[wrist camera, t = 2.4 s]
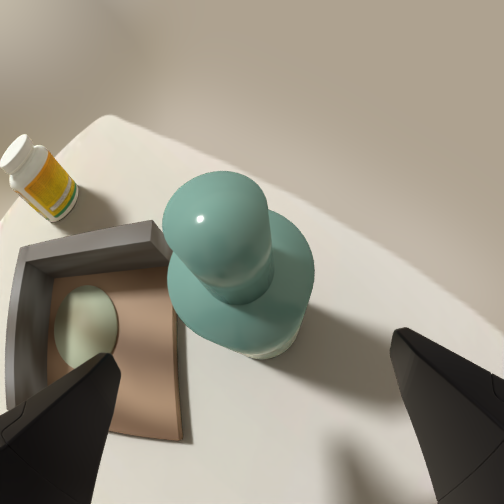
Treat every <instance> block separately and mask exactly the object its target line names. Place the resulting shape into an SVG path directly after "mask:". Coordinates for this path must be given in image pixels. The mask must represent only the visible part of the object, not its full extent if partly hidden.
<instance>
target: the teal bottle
mask: <svg viewBox="0 0 504 504" xmlns="http://www.w3.org/2000/svg"><path fill="white" fill-rule="evenodd" d="M162 228H163V234H164V237H165V240H166V242H167V244H168V245H169V247H170V248H171V249H172V250H173V253H172V256H171V259H170V262H169V267H168V275H167V284H168V292H169V296H170V299H171V303H172V305H173V307H174V309H175V311H176V313H177V314H178V316H179V317H180V319H181V320H182V321H183V322H184V323H185V324H186V326H187V327H189V328H190V329H191V330H192V331H193V332H195V333H196V334H198V335H199V336H201V337H203V338H205V339H207V340H209V341H212V342H214V343H216V344H218V345H221V346H223V347H225V348H228V349H230V350H233V351H235V352H237V353H240V354H242V355H245V356H247V357H250V358H254V359H270V358H273V357H276V356H278V355H280V354H282V353H284V352H285V351H286V350H287V349H288V348H289V347H290V346H291V345H292V344H293V342H294V341H295V339H296V337H297V334H298V331H299V329H300V326H301V323H302V320H303V317H304V314H305V311H306V308H307V305H308V302H309V298H310V295H311V292H312V289H313V283H314V272H315V269H314V260H313V256H312V252H311V250H310V247H309V245H308V243H307V241H306V239H305V237H304V236H303V234H302V233H301V232H300V231H299V229H298V228H297V227H296V226H295V225H294V224H293V223H292V222H290V221H289V220H288V219H286V218H285V217H283V216H282V215H280V214H278V213H276V212H274V211H271V210H269V209H268V205H267V200H266V197H265V195H264V193H263V191H262V189H261V188H260V187H259V186H258V185H257V184H256V183H255V182H254V181H253V180H251V179H250V178H248V177H246V176H244V175H242V174H239V173H235V172H229V171H216V172H210V173H206V174H203V175H200V176H197V177H195V178H193V179H191V180H190V181H188V182H187V183H185V184H184V185H183V186H181V187H180V188H179V189H178V190H177V191H176V192H175V193H174V195H173V196H172V197H171V199H170V200H169V202H168V204H167V206H166V208H165V211H164V214H163V220H162Z"/></svg>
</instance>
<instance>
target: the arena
mask: <svg viewBox="0 0 504 504" xmlns="http://www.w3.org/2000/svg"><path fill="white" fill-rule="evenodd" d="M172 253H173V250H172V249H171V248H170V247H169V245H168V244H167V242H166V240H165V237H164V234H163V233H162V231H161V230H160V229H159V228H158V226H157V225H156V224H155V223H154V221H153V220H148V221H143V222H137V223H132V224H126V225H121V226H116V227H110V228H105V229H100V230H95V231H90V232H86V233H81V234H76V235H71V236H67V237H62V238H58V239H53V240H49V241H45V242H41V243H36V244H32V245H28V246H24V247H20V251H19V255H18V259H17V264H16V268H15V273H14V278H13V284H12V290H11V296H10V303H9V311H8V320H7V331H6V347H5V390H6V405H7V410H11V409H13V408H14V407H16V406H17V405H19V404H21V403H22V402H24V401H25V400H27V399H28V398H30V397H32V396H33V395H35V394H36V393H38V392H39V391H41V390H42V389H44V388H46V387H47V386H49V385H50V384H52V383H53V382H55V381H56V380H58V379H60V378H61V377H63V376H64V375H66V374H67V373H69V372H70V371H72V370H73V369H75V368H77V367H78V366H80V365H81V364H83V363H84V362H86V361H87V360H89V359H90V358H92V357H94V356H95V355H97V354H98V353H100V352H105V353H111V354H112V355H113V357H114V359H115V361H116V363H117V365H118V367H119V368H120V371H121V380H120V385H119V390H118V395H117V400H116V405H115V410H114V414H113V418H112V421H111V425H110V428H109V431H113V432H119V433H124V434H130V435H136V436H142V437H150V438H157V439H166V440H177V441H179V440H181V439H183V434H182V423H181V411H180V398H179V382H178V361H177V318H176V311H175V309H174V307H173V305H172V303H171V299H170V296H169V292H168V284H167V275H168V267H169V262H170V259H171V256H172Z"/></svg>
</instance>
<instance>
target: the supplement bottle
mask: <svg viewBox="0 0 504 504" xmlns="http://www.w3.org/2000/svg"><path fill="white" fill-rule="evenodd" d="M0 167H1V168H2V169H3V171H4V172H5V173H6V174H8V175H10V186H11V188H12V189H13V190H14V191H15V192H16V193H17V194H18V195H19V196H20V197H21V198H22V199H24V200H25V201H26V202H27V203H28V204H29V205H30V206H31V207H32V208H34V209H35V210H36V211H37V212H38V213H39V214H40V215H42V216H43V217H44V218H45V219H46V220H48V221H50V222H56V221H59V220H60V219H62V218H63V217H65V216H66V215H67V214H68V213H69V212H70V210H71V209H72V208H73V206H74V205H75V203H76V200H77V197H78V186H77V184H76V183H75V182H74V180H73V179H72V178H71V177H70V176H69V175H68V174H67V172H66V171H65V170H64V169H63V168H62V167H61V165H60V164H59V163H58V162H57V161H56V160H55V158H54V157H53V156H52V155H51V153H50V152H49V151H48V150H47V149H46V148H45V147H44V146H42V145H36V146H34V145H33V142H32V140H31V139H30V138H29V137H28V136H27V135H26V134H23V135H21V136H20V137H18V138H17V139H16V140H15V141H14V142H13V143H12V144H11V145H10V146H9V147H8V149H7V150H6V151H5V153H4V155H3V157H2V159H1V161H0Z"/></svg>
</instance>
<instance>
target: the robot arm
mask: <svg viewBox="0 0 504 504" xmlns="http://www.w3.org/2000/svg"><path fill="white" fill-rule="evenodd" d="M390 357H391V361H392V364H393V367H394V371H395V374H396V378H397V381H398V385H399V389H400V392H401V396H402V398H403V401H404V404H405V406H406V409H407V411H408V414H409V417H410V419H411V422H412V425H413V427H414V430H415V433H416V436H417V438H418V441H419V444H420V447H421V450H422V453H423V456H424V459H425V462H426V465H427V468H428V471H429V475H430V478H431V481H432V485H433V488H434V492H435V495H436V499H437V501H438V502H437V503H438V504H504V379H502V378H500V377H498V376H496V375H494V374H491V373H490V372H489V371H487V370H485V369H483V368H481V367H480V366H478V365H476V364H474V363H472V362H470V361H469V360H467V359H465V358H463V357H461V356H459V355H458V354H456V353H454V352H452V351H450V350H448V349H446V348H445V347H443V346H441V345H439V344H437V343H435V342H434V341H432V340H430V339H428V338H426V337H424V336H422V335H421V334H419V333H417V332H415V331H413V330H411V329H409V328H407V327H404V328H399V329H396V330H395V331H394V332H393V336H392V342H391V347H390ZM120 380H121V371H120V368H119V367H118V365H117V363H116V361H115V359H114V357H113V355H112V354H111V353H105V352H100V353H98V354H97V355H95V356H94V357H92V358H90V359H89V360H87V361H86V362H84V363H83V364H81V365H80V366H78V367H77V368H75V369H73V370H72V371H70V372H69V373H67V374H66V375H64V376H63V377H61V378H60V379H58V380H56V381H55V382H53V383H52V384H50V385H49V386H47V387H46V388H44V389H42V390H41V391H39V392H38V393H36V394H35V395H33V396H32V397H30V398H28V399H27V400H25V401H24V402H22V403H21V404H19V405H17V406H16V407H14V408H13V409H11V410H9V411H7V412H6V413H4V414H2V415H0V504H91V501H92V496H93V491H94V487H95V482H96V478H97V473H98V469H99V465H100V461H101V457H102V453H103V450H104V446H105V442H106V439H107V435H108V431H109V428H110V425H111V421H112V418H113V414H114V410H115V405H116V400H117V395H118V390H119V385H120Z"/></svg>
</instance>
